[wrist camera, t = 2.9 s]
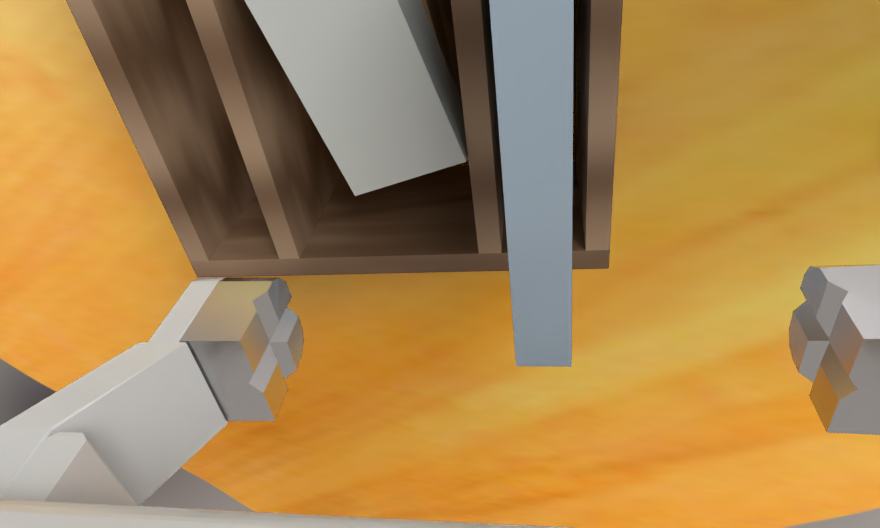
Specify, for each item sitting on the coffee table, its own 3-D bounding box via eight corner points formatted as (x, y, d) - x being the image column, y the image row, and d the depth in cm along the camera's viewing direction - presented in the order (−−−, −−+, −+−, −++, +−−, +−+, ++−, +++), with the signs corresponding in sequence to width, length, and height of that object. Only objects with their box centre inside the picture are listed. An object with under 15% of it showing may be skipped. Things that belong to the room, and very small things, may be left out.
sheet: (508, -228, 23) (471, -246, 10) (552, -236, 22) (575, -264, 9) (524, 119, 31) (516, 365, 18) (556, 117, 31) (571, 366, 18)
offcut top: (217, -128, 21) (178, -117, 19) (340, -197, 20) (314, -195, 17) (370, 161, 28) (354, 196, 25) (472, 127, 26) (466, 161, 24)
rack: (87, -275, 23) (-75, -297, 17) (612, -382, 20) (646, -458, 14) (256, 192, 36) (197, 277, 30) (594, 176, 33) (608, 268, 26)
